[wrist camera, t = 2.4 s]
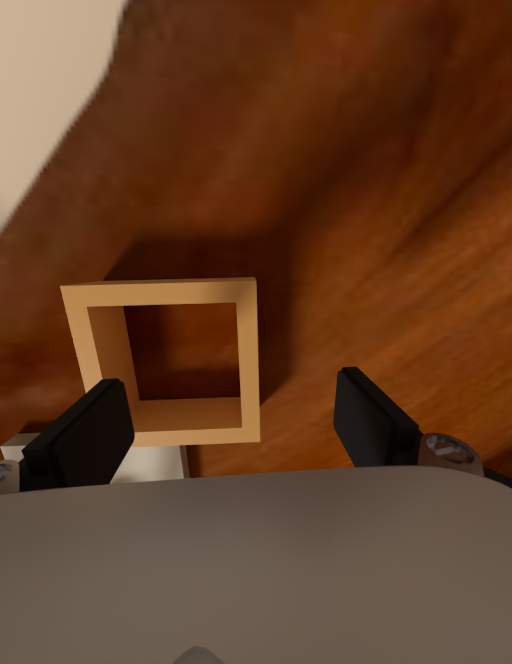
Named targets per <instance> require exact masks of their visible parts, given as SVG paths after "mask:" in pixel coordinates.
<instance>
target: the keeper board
mask: <svg viewBox="0 0 512 664" xmlns="http://www.w3.org/2000/svg"><path fill="white" fill-rule="evenodd" d="M39 434H40V433H23V434H17V435H15V436H14V437H13V438H11V439H10V440H9V441H7V442H6V443H4V444H3V445H2V446H0V447H1V450H2V452H3V455H4V458H5V460H15V461H18V462H19V461H20V460H21V459H23V458H24V456H23V454H22V451H21V450H22V449H23V448H24V447H25V446H27V445H28V444H29V443H30V442H31V441H32V440H33V439H35V438H36V437H37V436H38V435H39ZM187 478H190V477H189V469H188V461H187V453H186V445H176V446H153V447H131V448H130V449H129V451H128V453H127V454H126V456H125V458H124V459H123V461H122V463H121V465H120V466H119V468H118V470H117V472H116V473H115V475H114V477H113V478H112V480H111V482H110V484H119V483H132V482H145V481H159V480H173V479H187Z"/></svg>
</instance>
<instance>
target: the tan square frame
mask: <svg viewBox="0 0 512 664" xmlns="http://www.w3.org/2000/svg"><path fill="white" fill-rule="evenodd" d="M60 288H61V292H62V296H63V300H64V305H65V309H66V313H67V317H68V321H69V325H70V329H71V333H72V337H73V341H74V345H75V350H76V354H77V358H78V362H79V366H80V370H81V374H82V378H83V382H84V386H85V390H86V393H87V392H88V391H89V390H90V389H91V388H93V387H94V386H95V385H96V384H97V383H98V382H99V381H100V380H102V379H111V378H118V379H119V380H120V381H122V382H124V385H125V389H126V394H127V399H128V403H129V408H130V413H131V418H132V422H133V427H134V432H135V439H134V442H133V444H132V446H131V447H153V446H176V445H199V444H221V443H244V442H260V414H259V370H258V326H257V283H256V279H255V277H238V278H200V279H162V280H124V281H98V282H90V283H82V284H73V285H65V286H60ZM231 302H236V304H237V326H238V347H239V369H240V391H241V397H221V398H196V399H170V400H145V401H140V398H139V393H138V387H137V382H136V376H135V370H134V365H133V359H132V353H131V348H130V342H129V336H128V331H127V325H126V319H125V314H124V308H123V306H128V305H162V304H197V303H231ZM131 447H130V448H131Z"/></svg>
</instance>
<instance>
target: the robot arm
mask: <svg viewBox="0 0 512 664" xmlns="http://www.w3.org/2000/svg"><path fill="white" fill-rule="evenodd" d="M333 423H334V428H335V431H336V433H337V435H338V436H339V438H340V440H341V442H342V444H343V446H344V447H345V449H346V451H347V453H348V455H349V457H350V458H351V460H352V462H353V464H354V466H355V467H352V468H336V469H321V470H305V471H289V472H274V473H259V474H244V475H229V476H215V477H201V478H187V479H173V480H159V481H145V482H132V483H119V484H110V482H111V480H112V478H113V477H114V475H115V473H116V472H117V470H118V468H119V466H120V465H121V463H122V461H123V459H124V458H125V456H126V454H127V453H128V451H129V449H130V447H131V446H132V444H133V442H134V439H135V432H134V427H133V422H132V418H131V413H130V408H129V403H128V399H127V394H126V389H125V385H124V382H122V381H120V380H119V379H118V378H111V379H102V380H100V381H99V382H98V383H97V384H96V385H95V386H94V387H93V388H91V389H90V390H89V391H88V392H87V393H86V394H85V395H83V396H82V397H81V398H80V399H79V400H78V401H77V402H75V403H74V404H73V405H72V406H71V407H70V408H69V409H67V410H66V411H65V412H64V413H63V414H62V415H61V416H60V417H58V418H57V419H56V420H55V421H54V422H53V423H52V424H50V425H49V426H48V427H47V428H46V429H45V430H44V431H42V432H41V433H40V434H39V435H38V436H37V437H36V438H35V439H33V440H32V441H31V442H30V443H29V444H28V445H27V446H25V447H24V448H23V449H22V450H21V451H22V454H23V456H24V458H23V459H21V460H20V461H19V462H18V461H15V460H1V461H0V664H512V478H509V477H507V476H504V475H502V474H499V473H497V472H494V471H492V470H489V469H487V468H484V467H483V466H482V461H481V458H480V456H479V454H478V453H477V452H476V451H475V450H474V449H473V448H472V447H470V446H469V445H468V444H466V443H465V442H463V441H461V440H459V439H457V438H455V437H452V436H450V435H446V434H442V433H426V434H425V435H424V434H423V433H422V432H421V431H420V430H419V429H418V428H419V425H418V424H417V423H415V422H414V421H413V420H412V419H411V418H410V417H409V416H408V415H407V414H406V413H405V412H404V411H403V410H402V409H401V408H400V407H399V406H398V405H396V404H395V403H394V402H393V401H392V400H391V399H390V398H389V397H388V396H387V395H386V394H385V393H384V392H383V391H382V390H381V389H380V388H379V387H377V386H376V385H375V384H374V383H373V382H372V381H371V380H370V379H369V378H368V377H367V376H366V375H365V374H364V373H363V372H362V371H361V370H360V369H358V368H357V367H343V368H342V370H341V371H338V375H337V386H336V398H335V409H334V421H333Z"/></svg>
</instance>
